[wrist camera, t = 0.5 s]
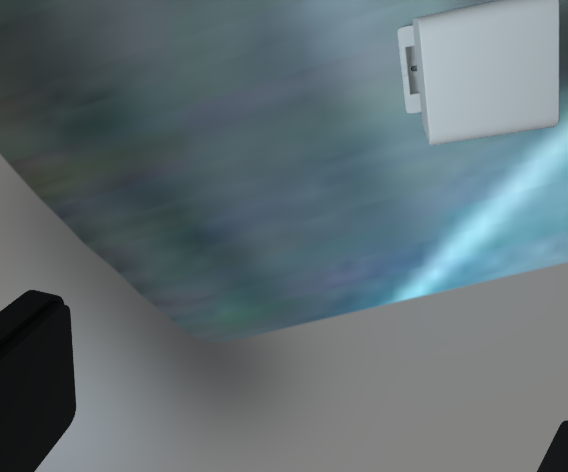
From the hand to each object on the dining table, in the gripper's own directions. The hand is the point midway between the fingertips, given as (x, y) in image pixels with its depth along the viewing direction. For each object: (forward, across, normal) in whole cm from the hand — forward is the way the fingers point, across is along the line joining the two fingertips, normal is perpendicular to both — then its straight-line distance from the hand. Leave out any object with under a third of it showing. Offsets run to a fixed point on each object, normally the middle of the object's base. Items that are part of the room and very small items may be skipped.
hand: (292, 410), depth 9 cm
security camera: (+29, -5, -5) cm, 30 cm away
